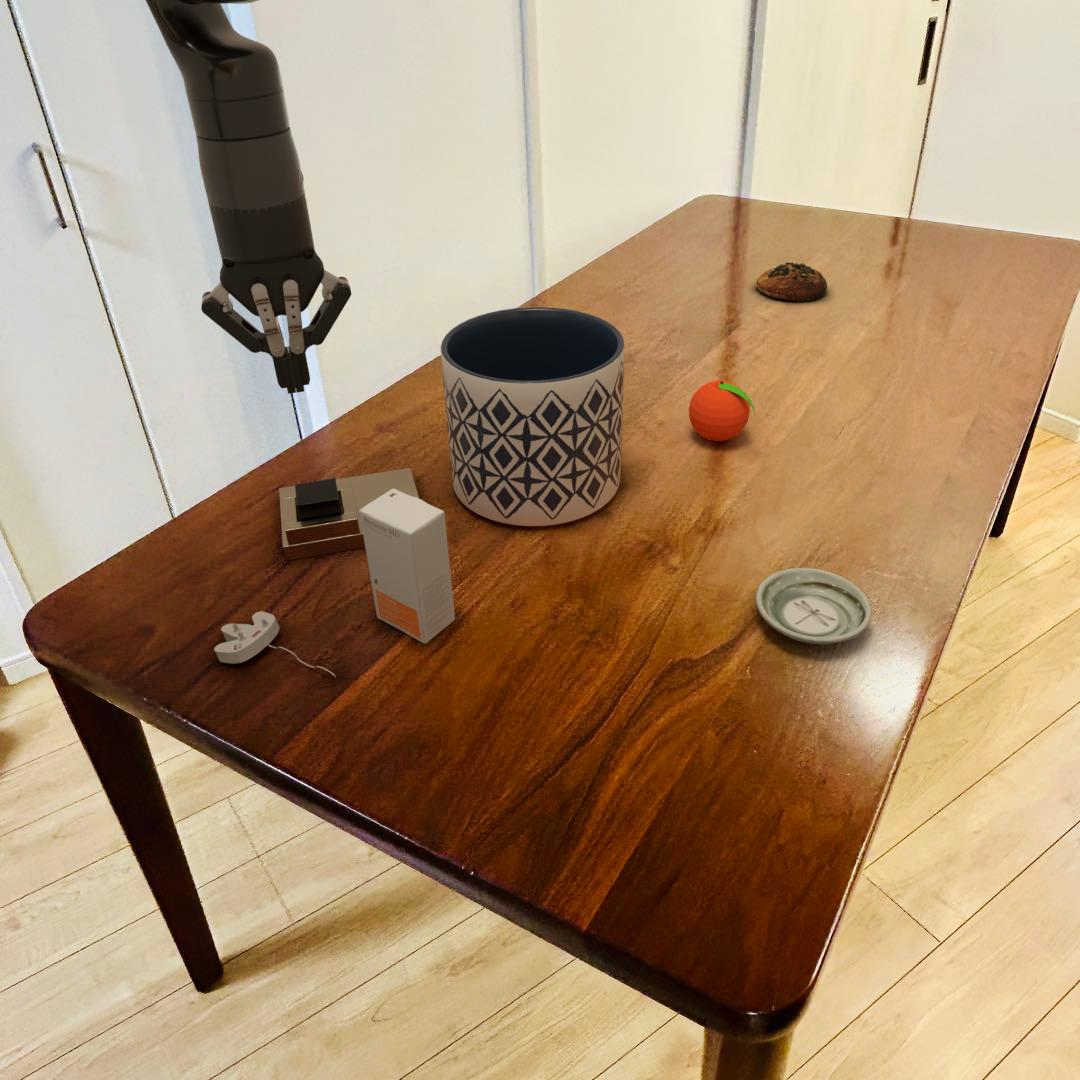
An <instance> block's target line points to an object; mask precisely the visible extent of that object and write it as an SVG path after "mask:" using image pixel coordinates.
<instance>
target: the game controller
mask: <svg viewBox="0 0 1080 1080" xmlns="http://www.w3.org/2000/svg"><path fill="white" fill-rule="evenodd" d="M251 620H252V622H253V625H252V624H249V623H227V624H224V625H222V627H221V628H220V630H221V633H222V634H223V637H224V639H225V642H220V643H219V644H217V645H216V646H214V652H215V655H216V658H217V659H218V661H219V662H220V663H222V664H223V663H225V664H242V663H244V662H247V661H248V660H250V659H251V658H253V657H255V656H256V655H257V654H259V653H261V651H263V650H264V649H265V648H266V647H270V648H273V649H283V650H284V651H287V652H289V653H290V654H292V655H293V656H294V657H295V658H296V660H297V661H299V662H300V663H302V664H304V665H305V666H308V667H310V668H313V669H314V668H320V669H322V670H324V671H326V672H328V673H330V674H331V675H332V676H333V677H334V679H337V678H336V674H335V673H334V672H332V671H330V669H327V668H325V667H323V666H320V665H316V666H313V665H310V664H308V663H306V662H304V661H303V660H302V659H300V658H299V657H298V656H297V654H296V653H294V652H293V651H291V650H289V649H287V648H285V647H283V646H278V647H277V646H274V645H271V644H270V643H271V642H272V641H273V640H275V638H276V637H277V636H278V634H279V632H280V628H281V627H280V625H279V623H278V620H277V618H276V616H275V615H273V614H272V613H269V612H266V611H261V610H260V611H257V612H255V613H254V614H253V615H252V616H251Z"/></svg>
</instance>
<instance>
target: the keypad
mask: <svg viewBox="0 0 1080 1080" xmlns="http://www.w3.org/2000/svg"><path fill="white" fill-rule="evenodd" d="M335 479H336V484H337V490H338V495H339V501H340V508H341V514H342V515H337V516H331V517H325V518H319V519H313V520H307V521H301V522H300V519H299V514H298V510H297V504H296V492H295V485H290V486H285V487H279V488H278V491H279V492H278V494H279V507H280V522H281V523H280V525H281V540H282V551H283V553H284V554H283V555H284V558H285V561H286V562H289V561H294V560H300V559H305V558H311V557H316V556H322V555H329V554H334V553H340V552H346V551H351V550H357V549H364V548H365V542H364V536H363V530H362V524H361V518H360V512H359V511H360V509H362V508H363V507H364V506H366V505H367V504H369V503H371V502H372V501H374V500H375V499H377V498H379V497H380V496H382V495H383V494H385V493H386V492H388V491H389V490H391V489H396V490H398V491H400V492H403V493H405V494H407V495H410V496H413V497H416V498H419V499H420V495H419V493H418V489H417V486H416V484H415V479H414V475H413V472H412V468H411V467H406V468H399V469H392V470H388V471H380V472H375V473H367V474H362V475H356V476H348V477H342V478H335Z"/></svg>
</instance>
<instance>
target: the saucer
mask: <svg viewBox="0 0 1080 1080" xmlns="http://www.w3.org/2000/svg"><path fill="white" fill-rule="evenodd" d="M755 605H756V608H757V611H758V613H759V615H760V616H761V618H762V619H763V620H764V622H765V623H766V624H768V625H769V626H770V627H771V628H772V629H774V630H775V631H776V632H778V633H780V634H782V636H785V637H787V638H789V639H792V640H794V641H797V642H800V643H805V644H808V645H809V644H810V645H832V644H840V643H844V642H847V641H850V640H852V639H854V638H856V637H858V636H859V635H861V634H862V633H863V632H865V631H866V629H867V628H868V626H869V625H870V622H871V620H872V616H873V615H872V614H873V613H872V611H873V609H872V606H871V603H870V601H869V599H868V597H867V595H866V594H865V593H864V592H863V590H862V589H860V588H859V587H858V586H857V585H856V584H855V583H853V582H852V581H850V580H848V579H847V578H846V577H844V576H840V575H839V574H836V573H833V572H830V571H827V570H825V569H824V570H823V569H818V568H812V567H793V568H787V569H782V570H779V571H776V572H774V573H772V574H770V575H769V576H767V577H766V578H764V580H762V581H761V582H760V584H759V585H758V587H757V588H756V592H755Z"/></svg>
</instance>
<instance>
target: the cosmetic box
mask: <svg viewBox="0 0 1080 1080" xmlns="http://www.w3.org/2000/svg"><path fill="white" fill-rule="evenodd" d="M359 512H360V518H361V524H362V530H363V536H364V542H365V547H364V548H365V553H366V560H367V567H368V573H369V578H370V583H371V589H372V595H373V601H374V607H375V614H376V618H377V619H378V620H380V621H382V622H384V623H386V624H388V625H390V626H392V627H393V628H395V629H397V630H399V631H401V632H403V633H404V634H406V635H408V636H410V637H411V638H412V639H415V640H417V641H418V642H420V643H422V644H423V645H426V644H428V643H429V642H430V641H431V640H432V639H434V637H436V636H437V635H438V634H439V633H441V632H442V631H443V630H444V629H446V628H447V627H448V626H449V625H450V624H452V623H453V622H454V621H455V620H456V611H455V603H454V602H455V601H454V593H453V592H454V591H453V583H452V572H451V564H450V563H451V562H450V553H449V543H448V537H447V536H448V534H447V523H446V513H445V511H444V510H443V509H440V508H438V507H436V506H434V505H431V504H429V503H427V502H426V501H424V500H423V499H422V498H421V499H420V497H419V498H416V497H413V496H410V495H407V494H405V493H403V492H400V491H398V490H396V489H391V490H389V491H388V492H386V493H385V494H383V495H382V496H380V497H379V498H377V499H375V500H374V501H372V502H371V503H369V504H367V505H366V506H364V507H363V508H362V509H360V511H359Z"/></svg>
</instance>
